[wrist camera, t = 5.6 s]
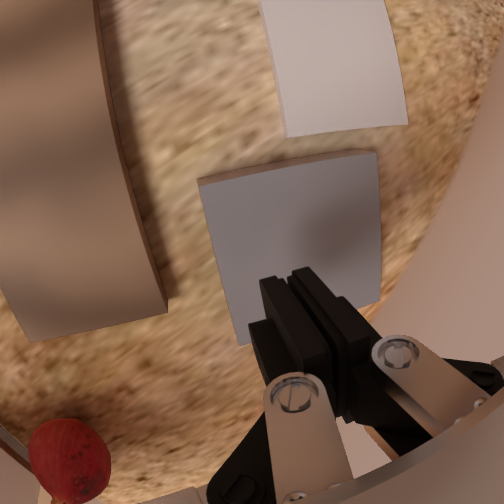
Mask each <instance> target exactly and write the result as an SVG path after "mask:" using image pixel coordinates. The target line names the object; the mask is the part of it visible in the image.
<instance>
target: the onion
mask: <svg viewBox="0 0 504 504" xmlns="http://www.w3.org/2000/svg"><path fill="white" fill-rule="evenodd" d="M28 457H29V462H30V465H31V468H32V471H33V473H34V475H35V477H36V478H37V480H38V481H39V483H40V484H41V485H42V486H43V488H44V489H45V490H46V491H47V492H48V493H49V494H50V495H51V496H52V501H51V504H83V503H86V502H88V501H90V500H92V499H93V498H95V497H96V496H98V495H99V494H101V492H102V491H103V490H104V489H105V488H106V486H107V484H108V482H109V479H110V474H111V457H110V452H109V450H108V448H107V446H106V444H105V443H104V441H103V440H102V439H101V437H100V436H99V435H98V434H97V433H96V432H95V431H94V430H93V429H92V428H90V427H89V426H87V425H86V424H84V423H83V422H81V421H80V420H79V419H77V418H74V417H70V418H62V419H53V420H49V421H47V422H45V423H43V424H41V425H40V426H39V427H37V428H36V429H35V431H34V432H33V434H32V436H31V439H30V442H29V448H28Z"/></svg>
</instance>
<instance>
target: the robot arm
mask: <svg viewBox="0 0 504 504" xmlns="http://www.w3.org/2000/svg"><path fill="white" fill-rule="evenodd" d="M259 285H260V290H261V296H262V301H263V306H264V311H265V316H266V319H264V320H260V321H256V322H253V323H249V324H248V329H249V333H250V337H251V341H252V345H253V349H254V352H255V355H256V359H257V362H258V365H259V368H260V370H261V373H262V376H263V379H264V382H265V384H266V389H265V391H264V397H263V401H264V409H265V411H264V412H263V414H262V415H261V416H260V418H259V419H258V421H257V422H256V423H255V425H254V426H253V427H252V428H251V430H250V431H249V432H248V434H247V435H246V436H245V438H244V439H243V440H242V441H241V443H240V444H239V445H238V447H237V448H236V449H235V450H234V452H233V453H232V454H231V455H230V457H229V458H228V459H227V460H226V461H225V463H224V464H223V465H222V466H221V468H220V469H219V470H218V471H217V472H216V474H215V475H214V476H213V477H212V479H211V480H210V482H209V483H208V484H206V485H204V486H201V487H198V488H196V489H195V488H194V487H193V486H192V487H189V488H186V489H183V490H181V491H178V492H175V493H172V494H168V495H165V496H162V497H159V498H156V499H152V500H149V501H145V502H142V503H138V504H504V356H502V357H500V358H498V359H495V360H493V361H491V363H490V364H486V363H481V362H471V361H461V360H453V359H445V358H441V357H439V356H438V355H437V354H435V353H434V352H432V351H431V350H430V349H428V348H427V347H426V346H424V345H423V344H422V343H420V342H419V341H418V340H416V339H414V338H412V337H409V336H406V335H391V336H387V337H385V338H382V337H381V336H380V335H379V334H378V333H377V332H376V331H375V329H374V328H373V327H372V326H371V325H370V324H369V323H368V322H367V321H366V320H365V318H364V317H363V316H362V315H361V314H360V313H359V312H358V311H357V310H356V309H355V308H354V307H353V305H352V304H351V303H350V302H349V301H348V300H347V299H346V298H345V297H344V296H339V297H336V296H335V295H334V294H333V293H332V291H331V290H330V289H329V288H328V287H327V286H326V285H325V284H324V282H323V281H322V280H321V279H320V278H319V277H318V276H317V275H316V274H315V273H314V271H313V270H312V269H311V268H310V267H309V266H307V267H303V268H299V269H296V270H292V273H291V275H290V276H287V283H286V281H285V280H284V278H280V279H278V278H277V276H276V275H274V276H271V277H267V278H263V279H260V280H259ZM340 416H342V417H343V419H344V421H345V423H346V424H348V423H350V422H352V421H355V422H356V423H358V424H362V425H364V428H365V430H366V431H367V433H368V434H369V435H370V436H371V438H372V439H373V440H374V441H375V442H376V443H377V444H378V446H379V447H380V448H381V449H382V450H383V451H384V452H385V453H386V455H387V456H388V457H389V458H390V459H391V460H392V462H390V463H388V464H386V465H384V466H382V467H380V468H377V469H375V470H373V471H371V472H369V473H367V474H365V475H362V476H360V477H358V478H356V479H354V478H353V475H352V471H351V468H350V465H349V462H348V458H347V455H346V452H345V449H344V446H343V442H342V439H341V436H340V433H339V430H338V427H337V424H336V417H340Z"/></svg>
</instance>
